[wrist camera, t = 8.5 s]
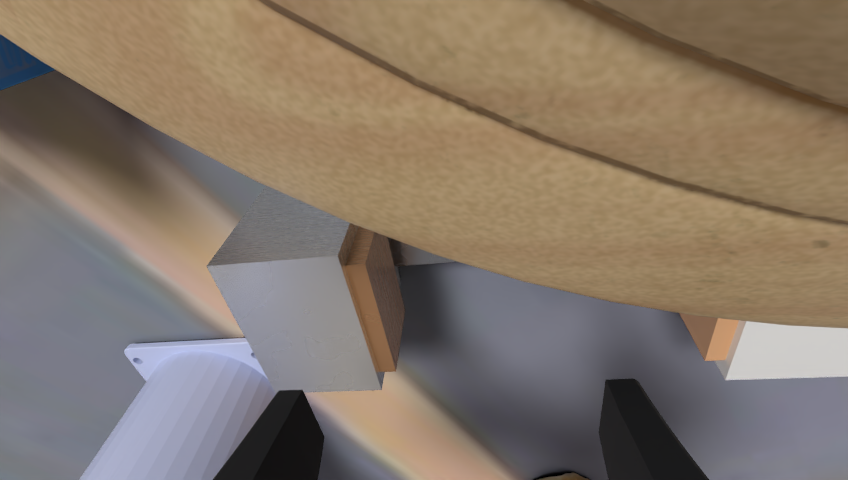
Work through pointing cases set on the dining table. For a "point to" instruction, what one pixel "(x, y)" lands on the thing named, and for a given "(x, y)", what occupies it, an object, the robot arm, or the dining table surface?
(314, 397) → the dining table surface
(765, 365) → the white cube orange side
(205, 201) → the dining table surface
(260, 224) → the grey and white bar
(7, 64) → the perfume bottle
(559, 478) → the pastry
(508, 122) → the canister
